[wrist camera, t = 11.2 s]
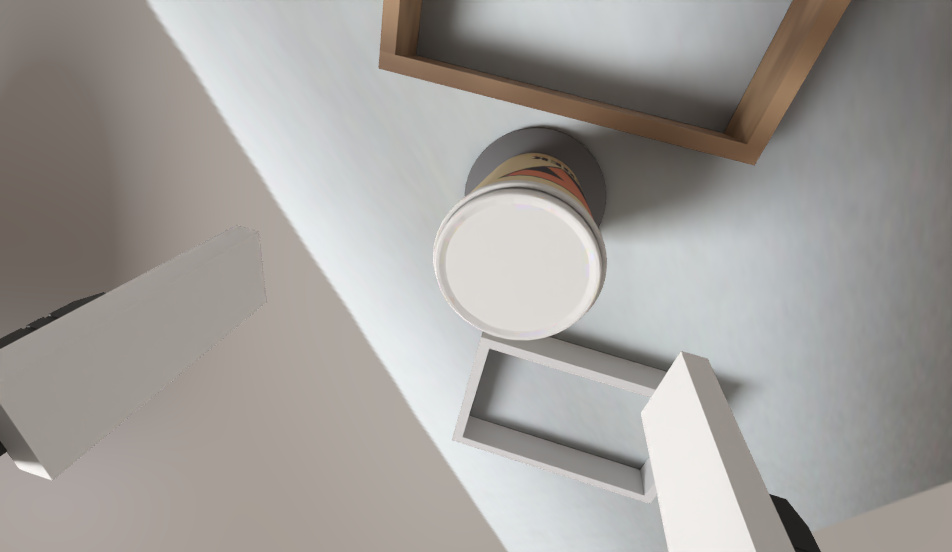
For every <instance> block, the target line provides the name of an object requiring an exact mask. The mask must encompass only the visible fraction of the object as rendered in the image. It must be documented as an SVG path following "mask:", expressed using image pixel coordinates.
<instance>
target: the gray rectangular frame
mask: <svg viewBox="0 0 952 552" xmlns="http://www.w3.org/2000/svg"><path fill="white" fill-rule="evenodd" d="M489 349H492V350H496V351H499V352H502V353H506V354H509V355H512V356H515V357H519V358H522V359H525V360H529V361H532V362H535V363H539V364H542V365H545V366H548V367H552V368H555V369H558V370H562V371H565V372H568V373H572V374H575V375H578V376H581V377H585V378H588V379H591V380H595V381H598V382H601V383H604V384H608V385H611V386H614V387H618V388H621V389H624V390H628V391H631V392H634V393H637V394H641V395H644V396H647V397H652V395H653V394H654V392H655V391H656V389H657V387H658V386H659V384H660V383H661V381H662V380H663V378H664V377H665V375H666V373H667V372H666V371H662V370H659V369H656V368H652V367H649V366H646V365H642V364H639V363H636V362H632V361H629V360H626V359H622V358H619V357H615V356H612V355H609V354H605V353H602V352H599V351H595V350H592V349H589V348H585V347H582V346H579V345H575V344H572V343H569V342H565V341H562V340H558V339H555V338H552V337H545V338H540V339H534V340H511V339H505V338H501V337H496V336H493V335H491V334H488V333H486V332H482V336H481V339H480V343H479V346H478V350H477V353H476V357H475V360H474V364H473V367H472V371H471V374H470V378H469V381H468V385H467V389H466V392H465V396H464V399H463V403H462V406H461V410H460V413H459V417H458V420H457V424H456V427H455V431H454V434H453V438H452V440H453V441H457V442H460V443H463V444H466V445H469V446H472V447H475V448H478V449H481V450H484V451H488V452H491V453H494V454H497V455H500V456H503V457H506V458H509V459H512V460H516V461H519V462H522V463H525V464H528V465H531V466H534V467H537V468H540V469H543V470H547V471H550V472H553V473H556V474H559V475H562V476H565V477H568V478H571V479H574V480H578V481H581V482H584V483H587V484H590V485H593V486H596V487H599V488H602V489H606V490H609V491H612V492H615V493H618V494H621V495H624V496H627V497H630V498H633V499H637V500H640V501H643V502H646V503H649V504H650V503H651V502H652V500H653V499H654V498H655V497H656V496H657V491H656V486H655V481H654V476H653V471H652V466H651V461H650V457H649V458H648V459H647V461H646V462H645V464H644V465H643V466H642V468H641V469H640V470H639V469H636V468H633V467H629V466H626V465H623V464H620V463H617V462H614V461H610V460H607V459H604V458H601V457H598V456H595V455H592V454H588V453H585V452H582V451H579V450H576V449H573V448H569V447H566V446H563V445H560V444H557V443H554V442H550V441H547V440H544V439H541V438H538V437H535V436H532V435H528V434H525V433H522V432H519V431H516V430H513V429H509V428H506V427H503V426H500V425H497V424H494V423H491V422H487V421H484V420H481V419H478V418H475V417H472V416H469V414H470V410H471V407H472V404H473V400H474V397H475V394H476V390H477V387H478V384H479V381H480V377H481V374H482V371H483V367H484V364H485V361H486V357H487V354H488V351H489Z"/></svg>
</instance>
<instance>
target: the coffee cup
mask: <svg viewBox="0 0 952 552" xmlns="http://www.w3.org/2000/svg"><path fill="white" fill-rule="evenodd" d="M433 262H434V269H435V274H436V277H437V280H438V283H439V286H440V289H441V291H442V293H443V295H444V297H445V299H446V300H447V302H448V303H449V305H450V306H451V307H452V308H453V309H454V311H455V312H456V313H457V314H458V315H459V316H460V317H462V318H463V319H464V320H465V321H466V322H468V323H469V324H471V325H472V326H474V327H476V328H477V329H479V330H481V331H483V332H486V333H488V334H491V335H493V336H496V337H501V338H505V339H511V340H534V339H540V338H545V337H548V336H552V335H554V334H557V333H559V332H561V331H563V330H565V329H567V328H569V327H570V326H571V325H573V324H574V323H576V322H577V321H578V320H579V319H580V318H581V317H582V316H583V315H584V314H585V313H586V312H587V311H588V310H589V309H590V308H591V307H592V305H593V304H594V303H595V301H596V300H597V298H598V296H599V294H600V292H601V290H602V287H603V284H604V281H605V276H606V268H607V257H606V249H605V245H604V241H603V238H602V235H601V233H600V231H599V229H598V227H597V225H596V223H595V222H594V220H593V217H592V214H591V211H590V209H589V206H588V203H587V201H586V198H585V195H584V193H583V190H582V188H581V186H580V183H579V181H578V179H577V178H576V176H575V175H574V173H573V172H572V171H571V169H570V168H569V167H568V166H567V165H565V164H564V163H563V162H562V161H560V160H558V159H557V158H554V157H552V156H550V155H546V154H541V153H525V154H521V155H517V156H514V157H512V158H510V159H508V160H506V161H505V162H503V163H502V164H501V165H499V166H498V167H497V168H496V169H495V170H494V171H493V172H492V173H491V174H489V175H488V176H487V177H486V178H485V179H484V180H483V181H482V182H481V183H480V184H479V185H478V186H477V187H476V188H475V189H474V190H473V191H472V192H471V193H470V194H468V195H466V196H465V197H464V198H463V199H461V200H460V201H459V202H458V203H457V204H456V205H455V206H454V207H453V208H452V209H451V210H450V211H449V212H448V214H447V215H446V216H445V218H444V220H443V221H442V223H441V225H440V228H439V230H438V232H437V235H436V239H435V243H434V250H433Z"/></svg>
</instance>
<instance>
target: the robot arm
mask: <svg viewBox="0 0 952 552" xmlns="http://www.w3.org/2000/svg"><path fill="white" fill-rule="evenodd" d="M266 302H267V299H266V290H265V281H264V273H263V263H262V255H261V245H260V236H259V231H255V230H252V229H248V228H245V227H241V226H238V225H236V226H234V227H232V228H230V229H228V230H226V231H224V232H223V233H221V234H219V235H217V236H215V237H213V238H211V239H209V240H207V241H205V242H203V243H202V244H199V245H198V246H196V247H194V248H192V249H190V250H188V251H186V252H184V253H182V254H181V255H179V256H177V257H175V258H173V259H171V260H169V261H167V262H165V263H163V264H161V265H159V266H158V267H156V268H154V269H152V270H150V271H148V272H146V273H144V274H142V275H140V276H139V277H137V278H135V279H133V280H131V281H129V282H127V283H125V284H123V285H121V286H119V287H118V288H116V289H114V290H112V291H110V292H108V293H104V292H103V293H100V294H96V295H93V296H90V297H87V298H83V299H80V300H77V301H74V302H72V303H70V304H68V305H66V306H64V307H62V308H60V309H58V310H56V311H54V312H52V313H50V314H48V317H46V318H44V317H42V318H40V319H38V320H36V321H34V322H32V323H30V324H28V325H27V327H26V328H25V329H22V328H20V329H18V330H16V331H15V332H13V333H10V334H9V335H7V336H5V337H3V338H1V339H0V456H1V455H3V454H4V453H6V452H7V453H8V454H9V456H10V457H11V458H12V460H13V461H14V462H15V464H16V465H17V466H18V468H19V469H21V470H24V471H27V472H29V473H32V474H35V475H38V476H41V477H44V478H47V479H50V480H54V479H55V478H56V477H57V476H59V475H60V474H61V473H62V472H63V471H65V470H66V469H67V468H68V467H69V466H71V465H72V464H73V463H74V462H75V461H77V460H78V459H79V458H80V457H81V456H82V455H84V454H85V453H86V452H87V451H89V450H90V449H91V448H92V447H93V446H95V445H96V444H97V443H98V442H99V441H100V440H102V439H103V438H104V437H105V436H107V435H108V434H109V433H110V432H111V431H113V430H114V429H115V428H116V427H117V426H119V425H120V424H121V423H122V422H123V421H124V420H126V419H127V418H128V417H129V416H131V415H132V414H133V413H134V412H135V411H137V410H138V409H139V408H140V407H141V406H143V405H144V404H145V403H146V402H147V401H149V400H150V399H151V398H152V397H153V396H155V395H156V394H157V393H158V392H159V391H161V390H162V389H163V388H164V387H165V386H167V385H168V384H169V383H170V382H171V381H173V380H174V379H175V378H176V377H177V376H178V375H180V374H181V373H182V372H183V371H185V370H186V369H187V368H188V367H189V366H191V365H192V364H193V363H194V362H195V361H197V360H198V359H199V358H200V357H201V356H202V355H204V354H205V353H206V352H207V351H209V350H210V349H211V348H212V347H213V346H215V345H216V344H217V343H218V342H219V341H221V340H222V339H223V338H224V337H225V336H227V335H228V334H229V333H230V332H231V331H233V330H234V329H235V328H236V327H237V326H239V325H240V324H241V323H242V322H243V321H245V320H246V319H247V318H248V317H249V316H251V315H252V314H253V313H254V312H255V311H257V310H258V309H259V308H260V307H261V306H263V305H264V304H265V303H266ZM641 416H642V421H643V426H644V431H645V436H646V441H647V446H648V451H649V456H650V461H651V466H652V471H653V476H654V481H655V486H656V491H657V496H658V501H659V506H660V511H661V516H662V521H663V526H664V531H665V536H666V541H667V546H668V551H669V552H821V551H820V549H819V547H818V545H817V543H816V541H815V539H814V537H813V535H812V533H811V531H810V529H809V527H808V526H807V525H806V523H805V522H804V521H803V520H802V518H801V517H800V516H799V515H798V513H797V512H796V511H795V510H794V508H793V507H792V506H791V505H790V503H789V502H788V501H787V500H786V499H784V498H780V497H777V496H774V495H771V494H769V493H768V491H767V488H766V486H765V484H764V482H763V480H762V477H761V475H760V473H759V471H758V469H757V466H756V464H755V462H754V460H753V458H752V455H751V453H750V451H749V449H748V447H747V444H746V442H745V440H744V438H743V435H742V433H741V431H740V429H739V427H738V424H737V422H736V420H735V418H734V416H733V413H732V411H731V409H730V407H729V405H728V402H727V400H726V398H725V396H724V394H723V391H722V389H721V387H720V385H719V383H718V380H717V378H716V376H715V374H714V371H713V369H712V367H711V365H710V363H709V360H708V359H707V358H703V357H700V356H696V355H693V354H689V353H686V352H682V351H681V352H680V353H679V355H678V356H677V358H676V359H675V361H674V363H673V364H672V366H671V367H670V369H669V370H668V372H667V373H666V375H665V377H664V378H663V380H662V381H661V383H660V384H659V386H658V387H657V389H656V391H655V392H654V394H653V395H652V397H651V398H650V400H649V401H648V403H647V405H646V406H645V408H644V409H643V411H642V412H641Z"/></svg>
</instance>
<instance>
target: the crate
mask: <svg viewBox="0 0 952 552" xmlns="http://www.w3.org/2000/svg"><path fill="white" fill-rule="evenodd" d="M850 1H851V0H793V1H792V3H791V5H790V7H789V9H788V11H787V13H786V15H785V17H784V19H783V20H782V22H781V24H780V26H779V28H778V30H777V32H776V34H775V36H774V38H773V40H772V42H771V43H770V45H769V47H768V49H767V51H766V53H765V55H764V57H763V59H762V61H761V63H760V65H759V67H758V68H757V70H756V72H755V74H754V76H753V78H752V80H751V82H750V84H749V86H748V88H747V90H746V91H745V93H744V95H743V97H742V99H741V101H740V103H739V105H738V107H737V109H736V111H735V113H734V115H733V116H732V118H731V120H730V122H729V124H728V126H727V128H726V130H725V132H724V133H721V132H717V131H713V130H709V129H705V128H701V127H697V126H693V125H689V124H685V123H681V122H677V121H673V120H669V119H665V118H662V117H658V116H654V115H650V114H646V113H642V112H638V111H634V110H630V109H626V108H622V107H618V106H614V105H610V104H606V103H602V102H599V101H595V100H591V99H587V98H583V97H579V96H575V95H571V94H567V93H563V92H559V91H555V90H551V89H547V88H543V87H539V86H535V85H532V84H528V83H524V82H520V81H516V80H512V79H508V78H504V77H500V76H496V75H492V74H488V73H484V72H480V71H476V70H472V69H469V68H465V67H461V66H457V65H453V64H449V63H445V62H441V61H437V60H433V59H429V58H425V57H421V56H417V55H416V51H417V42H418V34H419V25H420V16H421V7H422V0H384V1H383V15H382V29H381V43H380V57H379V69H383V70H387V71H391V72H395V73H399V74H402V75H406V76H410V77H414V78H418V79H422V80H426V81H430V82H433V83H437V84H441V85H445V86H449V87H453V88H457V89H461V90H464V91H468V92H472V93H476V94H480V95H484V96H488V97H492V98H495V99H499V100H503V101H507V102H511V103H515V104H519V105H523V106H526V107H530V108H534V109H538V110H542V111H546V112H550V113H554V114H557V115H561V116H565V117H569V118H573V119H577V120H581V121H585V122H588V123H592V124H596V125H600V126H604V127H608V128H612V129H616V130H619V131H623V132H627V133H631V134H635V135H639V136H643V137H647V138H650V139H654V140H658V141H662V142H666V143H670V144H674V145H678V146H681V147H685V148H689V149H693V150H697V151H701V152H705V153H709V154H712V155H716V156H720V157H724V158H728V159H732V160H736V161H740V162H743V163H747V164H751V165H755V164H756V162H757V160H758V158H759V157H760V155H761V153H762V152H763V150H764V148H765V147H766V145H767V143H768V141H769V140H770V138H771V136H772V135H773V133H774V131H775V129H776V128H777V126H778V124H779V123H780V121H781V119H782V117H783V116H784V114H785V112H786V111H787V109H788V107H789V105H790V104H791V102H792V100H793V99H794V97H795V95H796V93H797V92H798V90H799V88H800V87H801V85H802V83H803V81H804V80H805V78H806V76H807V75H808V73H809V71H810V70H811V68H812V66H813V64H814V63H815V61H816V59H817V58H818V56H819V54H820V52H821V51H822V49H823V47H824V46H825V44H826V42H827V40H828V39H829V37H830V35H831V34H832V32H833V30H834V28H835V27H836V25H837V23H838V22H839V20H840V18H841V16H842V15H843V13H844V11H845V10H846V8H847V6H848V4H849V3H850Z"/></svg>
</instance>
